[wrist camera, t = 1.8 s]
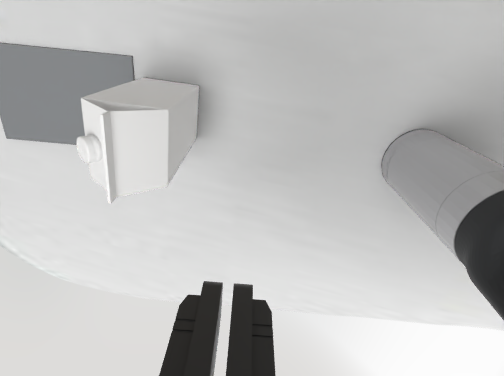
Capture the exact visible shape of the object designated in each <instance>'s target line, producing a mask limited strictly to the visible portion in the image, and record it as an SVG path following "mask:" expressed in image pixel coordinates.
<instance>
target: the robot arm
mask: <svg viewBox="0 0 504 376" xmlns="http://www.w3.org/2000/svg"><path fill="white" fill-rule="evenodd" d="M382 173H383V177H384V178H385V180H386V182H387V183H388V184H389V185H390V186H391V187H392V188H393V189H394V190H395V191H396V192H397V193H398V195H399V196H400V197H401V198H402V199H403V200H404V201H405V202H406V203H407V204H408V206H409V207H410V208H411V209H412V210H413V211H414V212H415V213H416V214H417V215H418V216H419V217H420V218H421V219H422V221H423V222H424V223H425V224H426V225H427V226H428V227H429V228H430V229H431V230H432V231H433V232H434V233H435V235H436V236H437V237H438V238H439V239H440V240H441V241H442V242H443V243H444V244H445V245H446V246H447V247H448V248H449V249H450V251H451V252H452V253H453V254H454V255H455V256H456V257H457V258H458V259H459V260H460V261H461V262H462V263H463V264H464V266H465V267H466V269H467V272H468V275H469V277H470V279H471V280H472V282H473V283H474V285H475V286H476V287H477V288H478V290H479V291H480V292H481V293H482V294H483V296H484V297H485V298H486V299H487V300H488V301H489V303H490V304H491V305H492V306H493V308H494V309H495V310H496V311H497V313H498V314H499V315H500V316H501V317H502V319H503V320H504V166H502V165H500V164H498V163H496V162H494V161H492V160H490V159H488V158H487V157H485V156H483V155H481V154H479V153H477V152H475V151H473V150H471V149H469V148H467V147H465V146H463V145H461V144H459V143H457V142H455V141H453V140H451V139H449V138H447V137H445V136H443V135H441V134H439V133H437V132H435V131H432V130H426V129H421V130H414V131H411V132H408V133H406V134H404V135H402V136H400V137H399V138H398V139H396V140H395V141H394V142H393V143H392V144H391V145H390V146H389V148H388V149H387V151H386V152H385V155H384V157H383V161H382ZM222 289H223V283H220V282H207V281H204V283H203V287H202V292H201V296H200V295H188V296H187V297H186V298H185V299H184V300H183V302H182V303H181V304H180V305H179V309H178V313H177V316H176V321H175V323H174V326H173V331H172V333H171V337H170V340H169V344H168V347H167V351H166V354H165V358H164V361H163V365H162V368H161V372H160V375H159V376H213V375H214V367H215V359H216V351H217V343H218V335H219V327H220V318H221V305H222ZM226 376H275V362H274V346H273V330H272V312H271V310H270V308H269V306H268V304H267V303H266V301H265V300H254V299H253V285H247V284H234V290H233V301H232V312H231V324H230V336H229V347H228V358H227V369H226Z"/></svg>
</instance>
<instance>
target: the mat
mask: <svg viewBox="0 0 504 376" xmlns="http://www.w3.org/2000/svg"><path fill="white" fill-rule="evenodd" d="M131 81H134V70H133V57H132V56H126V55H116V54H106V53H96V52H86V51H76V50H66V49H56V48H46V47H35V46H25V45H15V44H5V43H0V117H1V121H2V124H3V128H4V131H5V135H6V138H7V139H18V140H29V141H40V142H51V143H62V144H73V145H77V138H78V137H80V136H85V131H84V123H83V115H82V105H81V98H82V97H85V96H88V95H91V94H94V93H97V92H100V91H103V90H106V89H109V88H112V87H115V86H118V85H121V84H124V83H128V82H131Z"/></svg>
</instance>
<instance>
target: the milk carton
mask: <svg viewBox="0 0 504 376" xmlns="http://www.w3.org/2000/svg"><path fill="white" fill-rule="evenodd" d="M198 101H199V86H198V85H192V84H185V83H178V82H171V81H164V80H157V79H150V78H140V79H137V80H134V81H131V82H128V83H124V84H121V85H118V86H115V87H112V88H109V89H106V90H103V91H100V92H97V93H94V94H91V95H88V96H85V97H82V98H81V105H82V115H83V123H84V131H85V136H80V137H78V138H77V151H78V154H79V156H80V158H81V160H82V161H83V162H84V163H87V164H88V165H89V173H90V178H91V179H92V180H93V181H95V182H96V183H97V184H98V185H100V186H101V187H102V188H103V189H104V190H106V191H107V198H108V203H109V204H111V203H112V202H113V201H114V200H115V198H117V197H122V196H127V195H132V194H136V193H141V192H146V191H151V190H156V189H161V188H165V187H167V186H168V185H169V183H170V181H171V180H172V178H173V176H174V175H175V173H176V171H177V170H178V168H179V166H180V165H181V163H182V161H183V160H184V158H185V157H186V155H187V153H188V152H189V150H190V148H191V147H192V145H193V143H194V142H195V140H196V137H197V119H198Z"/></svg>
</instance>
